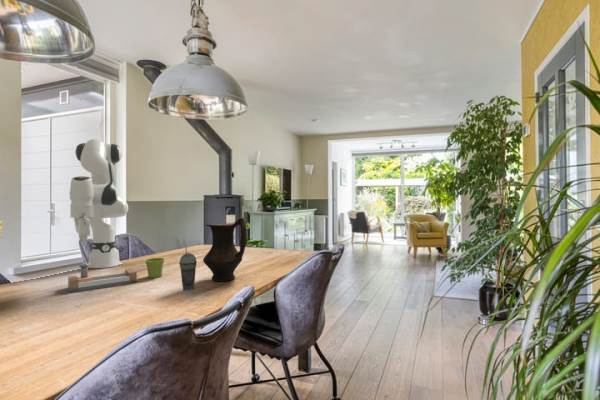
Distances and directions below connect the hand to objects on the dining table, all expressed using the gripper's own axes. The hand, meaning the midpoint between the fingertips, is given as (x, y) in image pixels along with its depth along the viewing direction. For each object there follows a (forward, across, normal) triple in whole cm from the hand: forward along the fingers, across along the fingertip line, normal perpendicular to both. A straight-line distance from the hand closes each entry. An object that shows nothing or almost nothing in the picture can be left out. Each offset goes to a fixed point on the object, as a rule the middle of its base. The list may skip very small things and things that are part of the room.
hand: (83, 244), depth 152 cm
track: (+19, 0, -7) cm, 21 cm away
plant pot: (+20, +1, -30) cm, 36 cm away
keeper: (+18, 0, 0) cm, 18 cm away
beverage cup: (+19, -32, -35) cm, 52 cm away
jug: (+19, -27, -55) cm, 64 cm away
